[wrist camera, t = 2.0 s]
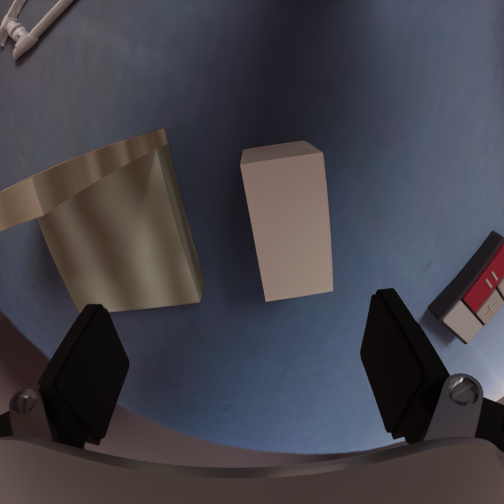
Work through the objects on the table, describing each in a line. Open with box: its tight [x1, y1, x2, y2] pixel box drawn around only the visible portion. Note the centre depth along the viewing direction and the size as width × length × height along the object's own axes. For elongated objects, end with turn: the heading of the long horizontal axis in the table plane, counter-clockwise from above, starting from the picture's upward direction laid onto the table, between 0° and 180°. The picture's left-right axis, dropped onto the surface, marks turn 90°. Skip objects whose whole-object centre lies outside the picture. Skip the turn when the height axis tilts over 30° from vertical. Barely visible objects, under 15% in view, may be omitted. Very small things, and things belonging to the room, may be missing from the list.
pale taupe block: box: [240, 141, 333, 302], centre depth 27 cm, size 6×13×8 cm, turn 10°
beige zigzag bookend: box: [0, 128, 205, 313], centre depth 22 cm, size 16×18×20 cm
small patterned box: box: [428, 231, 504, 344], centre depth 34 cm, size 11×4×15 cm
